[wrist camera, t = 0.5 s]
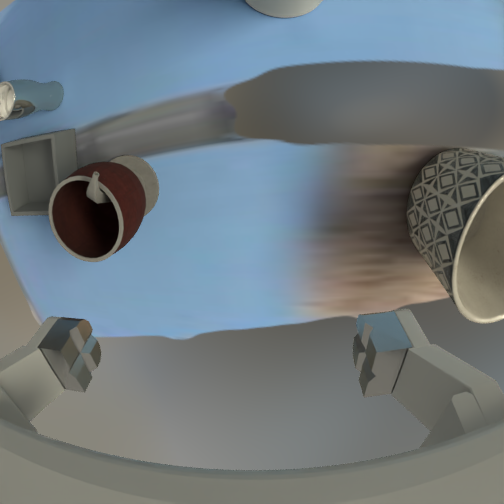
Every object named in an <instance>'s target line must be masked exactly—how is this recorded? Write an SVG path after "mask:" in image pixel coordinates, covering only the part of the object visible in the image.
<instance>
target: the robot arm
mask: <svg viewBox="0 0 504 504" xmlns="http://www.w3.org/2000/svg"><path fill="white" fill-rule="evenodd" d="M245 1H246V2H247V3H248V4H249V5H250V6H251V7H252V8H254V9H255V10H257V11H259V12H261V13H263V14H266V15H269V16H273V17H280V18H291V17H297V16H301V15H304V14H306V13H309V12H310V11H312V10H313V9H315V8H316V7H317V6H318V5H319V4H320V3H321V2H322V1H323V0H245ZM356 326H357V330H358V334H357V335H356V336H355V337H354V342H353V359H354V364H355V368H356V369H357V370H359V371H360V372H361V373H360V377H359V382H360V386H361V389H362V393H363V396H364V397H372V396H379V395H386V394H392V396H393V397H394V398H395V399H396V400H397V401H398V402H399V403H401V404H402V405H403V406H404V407H405V408H406V409H407V410H408V411H409V412H410V413H411V414H412V415H413V416H415V417H416V418H417V419H418V420H419V421H420V422H421V423H422V424H423V425H424V426H425V427H426V428H427V429H429V430H430V431H431V432H430V434H429V435H428V436H427V438H426V439H425V441H424V442H423V443H422V445H421V446H420V448H419V449H416V450H412V451H408V452H404V453H400V454H395V455H391V456H386V457H381V458H376V459H371V460H366V461H360V462H354V463H347V464H340V465H332V466H324V467H314V468H302V469H286V470H221V469H220V470H219V469H203V468H192V467H182V466H173V465H166V464H158V463H152V462H145V461H140V460H134V459H128V458H124V457H119V456H114V455H110V454H106V453H101V452H97V451H93V450H89V449H86V448H82V447H79V446H75V445H72V444H68V443H65V442H62V441H59V440H56V439H53V438H50V437H47V436H44V435H41V434H38V433H37V430H36V428H35V427H34V426H33V425H32V424H31V423H30V421H31V420H32V419H33V418H35V417H36V416H37V415H38V414H39V413H40V412H41V411H42V410H43V409H45V408H46V407H47V406H48V405H49V404H50V403H51V402H52V401H54V400H55V399H56V398H57V397H58V396H59V395H60V394H62V393H63V392H64V391H65V389H68V390H74V391H79V392H85V391H86V389H87V387H88V385H89V383H90V381H91V379H92V375H91V372H92V371H93V370H94V369H96V368H97V367H98V365H99V363H100V359H101V349H100V345H99V343H98V341H97V339H96V338H94V337H93V336H92V335H91V333H92V330H93V329H92V327H91V325H90V323H89V321H87V320H85V319H75V318H65V317H62V318H61V317H53V316H52V317H49V318H47V319H46V320H45V322H44V323H43V324H42V325H41V327H40V328H39V329H38V331H37V332H36V333H35V335H34V336H33V337H32V339H31V340H30V341H29V343H28V344H27V345H26V346H22V347H20V348H18V349H17V350H15V351H13V352H12V353H10V354H8V355H6V356H5V357H3V358H2V359H0V504H504V394H503V392H502V391H501V389H500V387H499V385H498V383H497V382H496V380H494V379H492V378H491V377H489V376H487V375H486V374H484V373H482V372H481V371H479V370H477V369H476V368H474V367H472V366H471V365H469V364H467V363H465V362H464V361H462V360H461V359H459V358H457V357H455V356H454V355H452V354H450V353H449V352H447V351H445V350H444V349H442V348H440V347H439V346H437V345H435V344H433V345H430V343H429V342H428V340H427V338H426V336H425V335H424V333H423V331H422V329H421V328H420V326H419V324H418V322H417V321H416V319H415V317H414V316H413V314H412V312H411V311H410V310H409V309H400V310H393V311H388V312H379V313H370V314H360V315H359V316H358V318H357V324H356Z"/></svg>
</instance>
